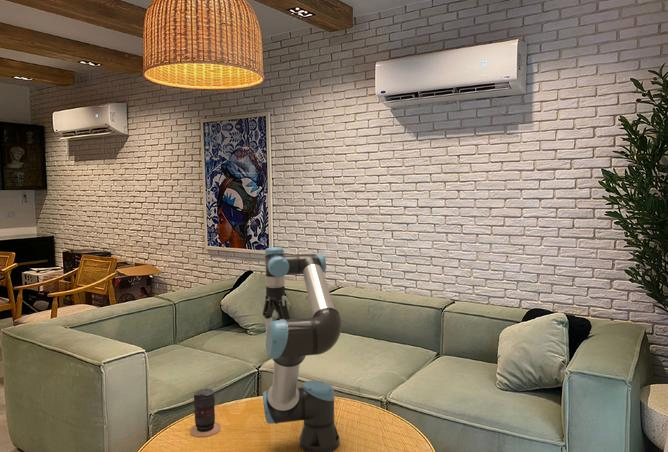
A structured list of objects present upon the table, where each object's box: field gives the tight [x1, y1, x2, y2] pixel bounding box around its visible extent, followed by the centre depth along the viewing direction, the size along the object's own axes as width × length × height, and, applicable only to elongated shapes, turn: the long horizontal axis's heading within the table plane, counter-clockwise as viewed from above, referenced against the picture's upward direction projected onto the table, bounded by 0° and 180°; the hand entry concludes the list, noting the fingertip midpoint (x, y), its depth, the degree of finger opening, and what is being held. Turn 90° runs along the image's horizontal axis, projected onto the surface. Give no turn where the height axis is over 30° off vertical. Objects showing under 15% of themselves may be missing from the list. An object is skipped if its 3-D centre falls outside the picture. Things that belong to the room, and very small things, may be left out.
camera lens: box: [193, 388, 216, 432], centre depth 201 cm, size 8×8×15 cm
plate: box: [189, 421, 222, 438], centre depth 202 cm, size 12×12×1 cm
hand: (276, 337), depth 202 cm, fingers open, 13 cm apart
